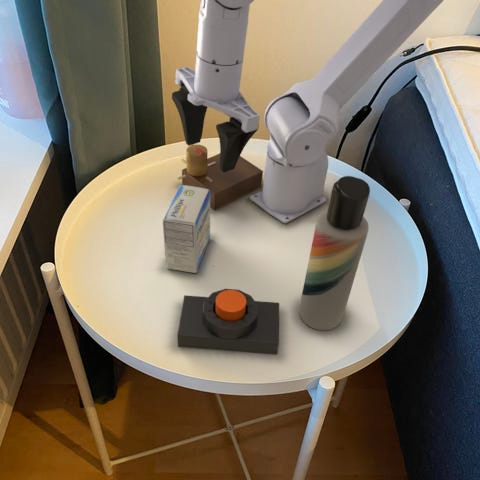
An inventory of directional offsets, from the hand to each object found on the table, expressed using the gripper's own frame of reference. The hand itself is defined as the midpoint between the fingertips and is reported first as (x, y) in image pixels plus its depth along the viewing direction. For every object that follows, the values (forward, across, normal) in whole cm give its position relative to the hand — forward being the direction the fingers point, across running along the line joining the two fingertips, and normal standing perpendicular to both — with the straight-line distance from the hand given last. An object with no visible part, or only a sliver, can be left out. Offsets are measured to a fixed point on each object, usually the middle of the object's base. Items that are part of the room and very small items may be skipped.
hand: (209, 155), depth 76 cm
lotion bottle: (+9, +25, -1) cm, 27 cm away
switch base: (+10, +20, -12) cm, 25 cm away
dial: (+7, -6, +3) cm, 10 cm away
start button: (+7, +20, -12) cm, 24 cm away
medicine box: (+10, +6, -7) cm, 14 cm away
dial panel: (+10, -5, +6) cm, 12 cm away
